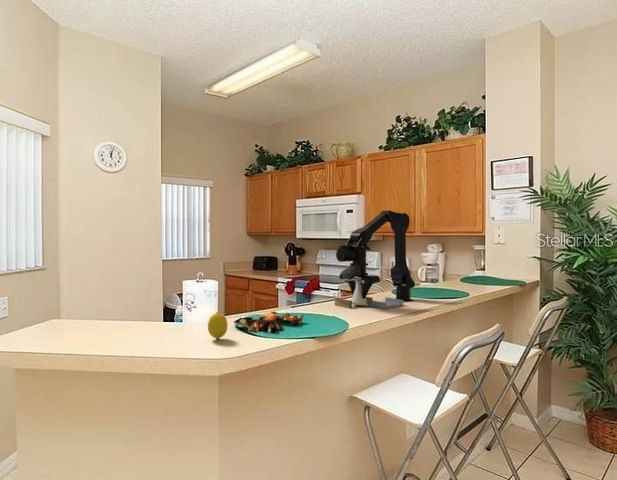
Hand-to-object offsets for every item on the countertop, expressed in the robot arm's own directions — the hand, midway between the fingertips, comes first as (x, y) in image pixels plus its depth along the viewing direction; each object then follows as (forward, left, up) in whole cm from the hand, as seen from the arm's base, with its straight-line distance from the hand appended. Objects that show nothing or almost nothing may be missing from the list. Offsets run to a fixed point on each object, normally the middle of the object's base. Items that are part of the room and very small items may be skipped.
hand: (358, 297), depth 169 cm
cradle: (-9, +6, -4) cm, 12 cm away
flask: (0, 0, -3) cm, 3 cm away
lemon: (+70, +12, -4) cm, 71 cm away
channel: (0, -3, -4) cm, 5 cm away
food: (+48, +5, -4) cm, 48 cm away
